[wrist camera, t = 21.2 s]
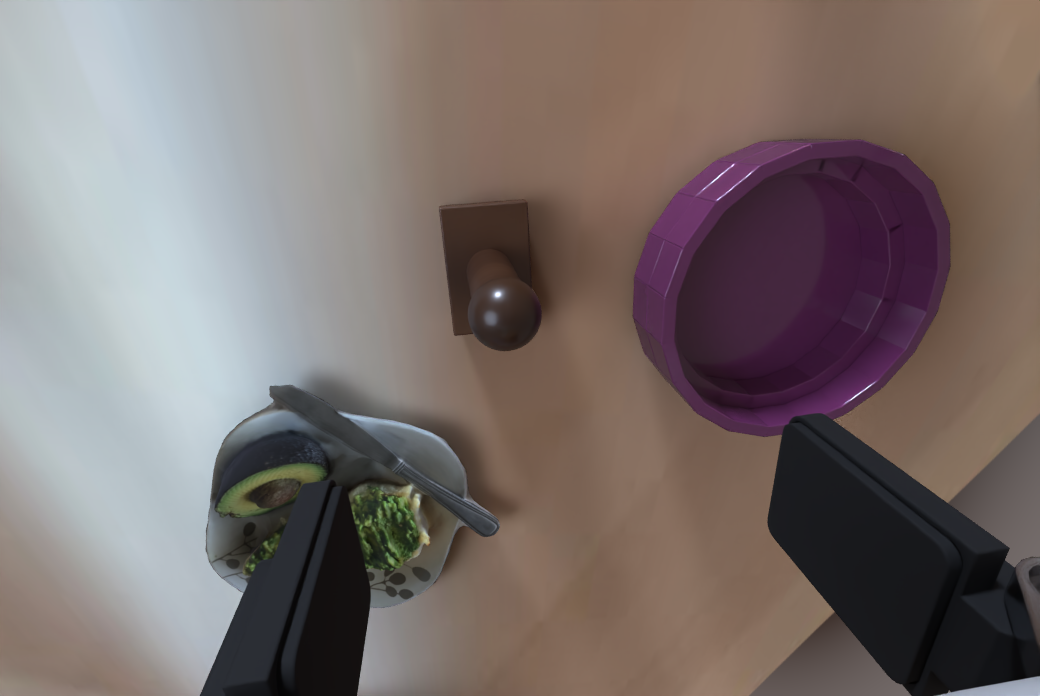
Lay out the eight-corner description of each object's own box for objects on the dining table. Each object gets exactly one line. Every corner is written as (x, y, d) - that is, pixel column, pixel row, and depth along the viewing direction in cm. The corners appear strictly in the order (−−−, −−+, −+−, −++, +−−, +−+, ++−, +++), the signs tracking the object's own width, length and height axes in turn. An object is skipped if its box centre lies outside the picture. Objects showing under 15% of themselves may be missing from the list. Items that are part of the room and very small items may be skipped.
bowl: (632, 150, 30) (672, 153, 25) (902, 130, 32) (990, 130, 27) (625, 409, 37) (655, 452, 32) (847, 380, 39) (908, 417, 34)
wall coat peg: (439, 202, 29) (438, 240, 19) (520, 196, 30) (565, 229, 19) (453, 322, 32) (459, 413, 22) (527, 314, 33) (569, 399, 22)
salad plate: (530, 423, 36) (542, 461, 32) (460, 604, 42) (463, 657, 37) (237, 358, 31) (205, 393, 27) (204, 574, 37) (174, 631, 33)
